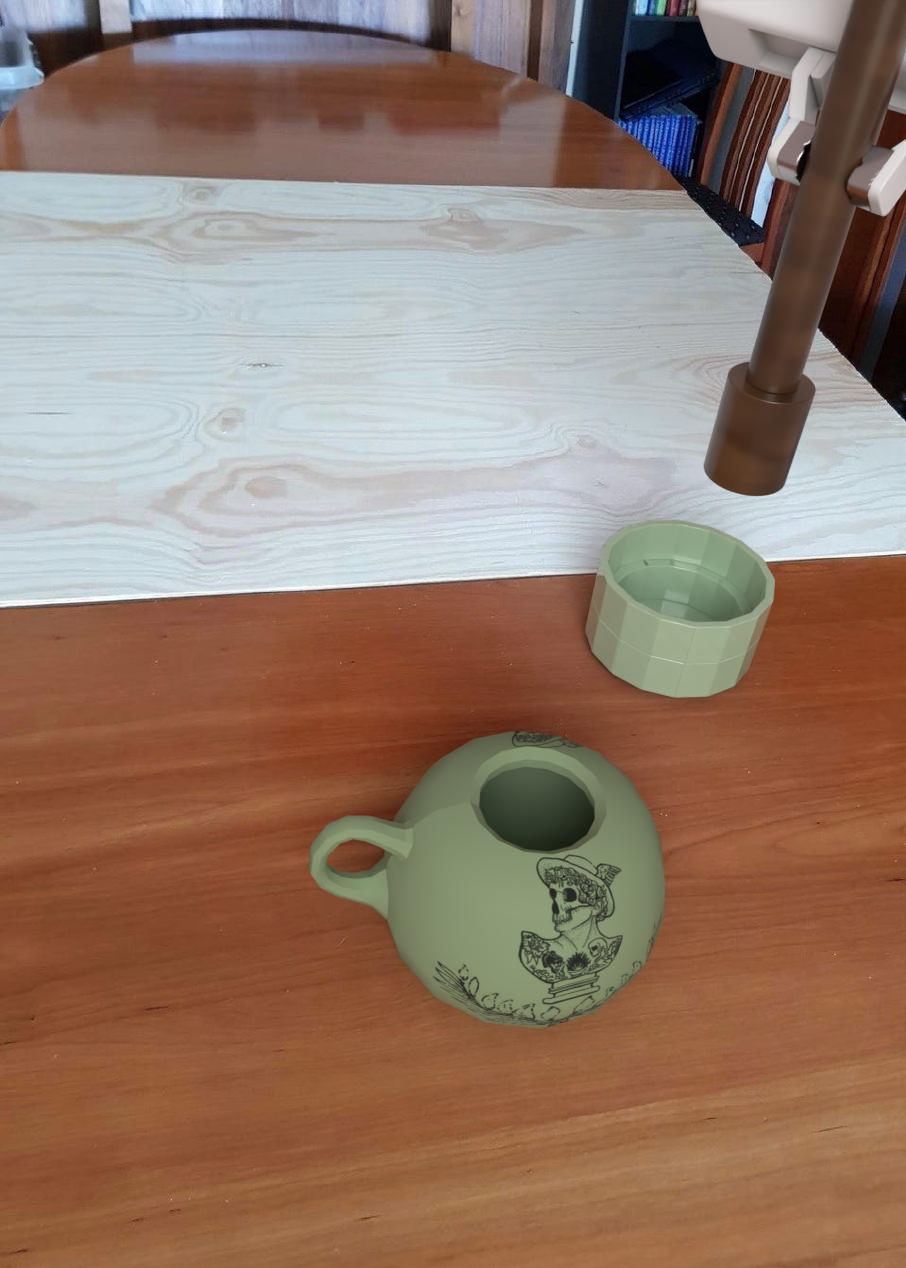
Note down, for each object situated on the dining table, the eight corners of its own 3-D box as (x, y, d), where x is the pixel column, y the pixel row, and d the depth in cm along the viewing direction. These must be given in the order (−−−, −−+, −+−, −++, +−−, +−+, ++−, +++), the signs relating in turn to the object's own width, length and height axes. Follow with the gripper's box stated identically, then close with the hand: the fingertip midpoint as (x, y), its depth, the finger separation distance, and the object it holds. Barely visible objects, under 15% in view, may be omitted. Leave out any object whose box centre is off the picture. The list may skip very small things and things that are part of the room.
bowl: (718, 594, 70) (742, 519, 66) (770, 702, 62) (800, 625, 58) (570, 596, 68) (585, 520, 64) (604, 707, 61) (623, 628, 57)
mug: (614, 803, 55) (647, 684, 50) (686, 1036, 46) (736, 922, 40) (306, 819, 53) (303, 696, 47) (313, 1068, 44) (310, 951, 38)
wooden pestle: (769, 451, 54) (951, -129, 38) (797, 496, 51) (1007, -112, 35) (693, 451, 53) (845, -137, 37) (717, 497, 50) (893, -121, 34)
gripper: (1308, 2, 39) (1073, 322, 40) (826, -94, 49) (652, 161, 50) (1352, -148, 33) (1080, 227, 34) (800, -219, 44) (606, 70, 45)
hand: (822, 187), depth 42 cm, fingers closed on wooden pestle, 2 cm apart
